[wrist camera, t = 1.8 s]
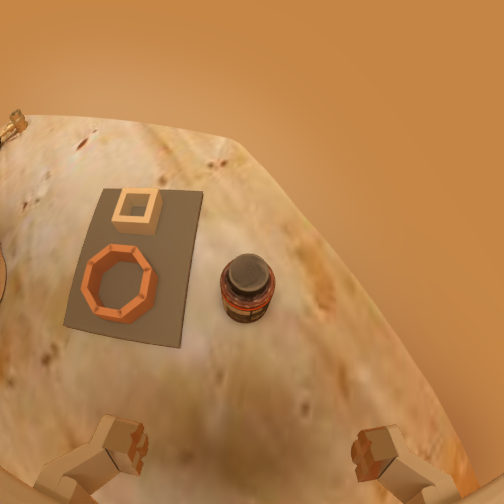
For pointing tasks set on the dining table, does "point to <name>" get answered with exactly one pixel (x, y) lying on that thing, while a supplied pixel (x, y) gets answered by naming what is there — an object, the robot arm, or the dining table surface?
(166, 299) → the socket board
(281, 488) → the dining table surface
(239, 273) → the supplement bottle
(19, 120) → the valve
